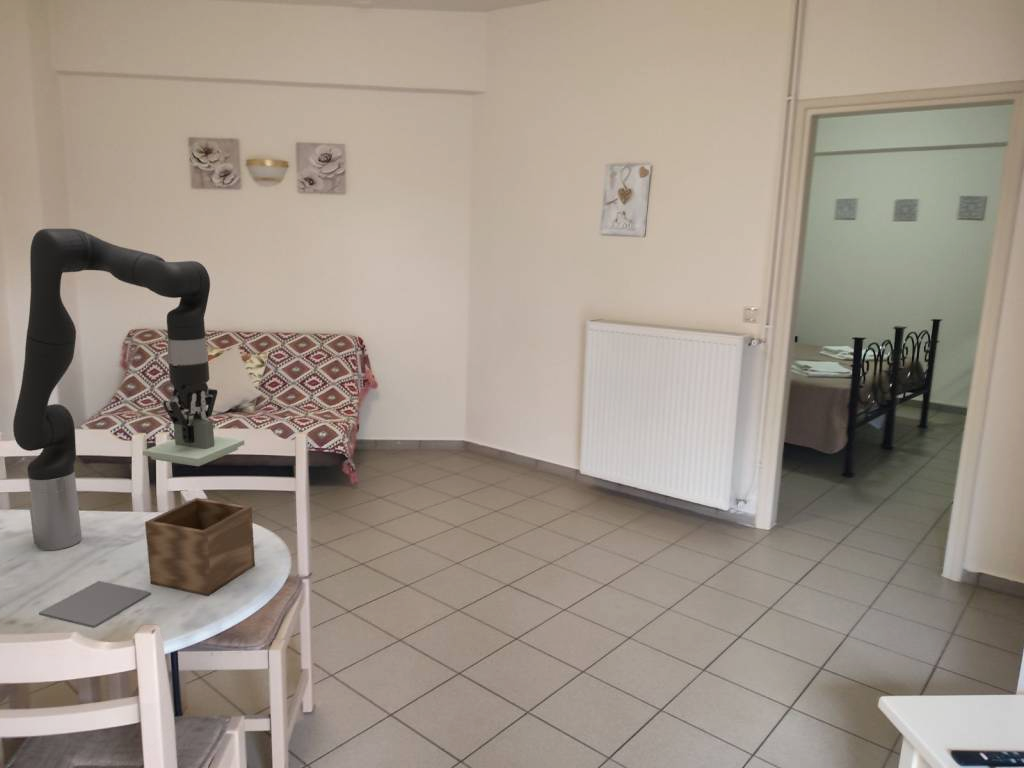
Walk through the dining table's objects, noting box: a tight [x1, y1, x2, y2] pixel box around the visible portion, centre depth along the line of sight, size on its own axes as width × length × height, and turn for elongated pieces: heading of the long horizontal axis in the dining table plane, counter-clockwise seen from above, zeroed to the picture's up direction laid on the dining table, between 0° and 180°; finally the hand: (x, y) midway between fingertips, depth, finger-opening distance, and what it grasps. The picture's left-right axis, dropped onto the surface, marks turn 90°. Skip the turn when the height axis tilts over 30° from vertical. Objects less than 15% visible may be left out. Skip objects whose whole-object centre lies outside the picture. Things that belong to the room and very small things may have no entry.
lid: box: [142, 416, 245, 467], centre depth 157 cm, size 14×14×8 cm
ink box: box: [180, 487, 209, 505], centre depth 180 cm, size 9×5×12 cm, turn 33°
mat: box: [38, 580, 152, 629], centre depth 150 cm, size 14×14×1 cm
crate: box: [144, 498, 256, 597], centre depth 162 cm, size 15×15×14 cm
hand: (194, 440), depth 157 cm, fingers closed on lid, 2 cm apart
